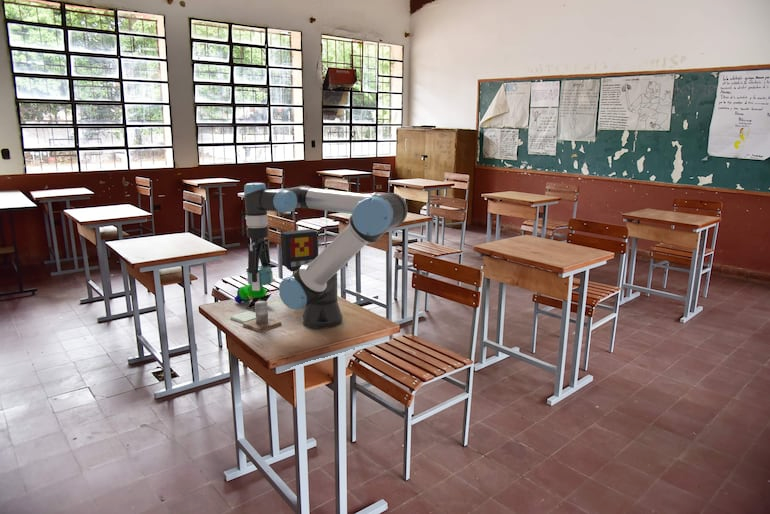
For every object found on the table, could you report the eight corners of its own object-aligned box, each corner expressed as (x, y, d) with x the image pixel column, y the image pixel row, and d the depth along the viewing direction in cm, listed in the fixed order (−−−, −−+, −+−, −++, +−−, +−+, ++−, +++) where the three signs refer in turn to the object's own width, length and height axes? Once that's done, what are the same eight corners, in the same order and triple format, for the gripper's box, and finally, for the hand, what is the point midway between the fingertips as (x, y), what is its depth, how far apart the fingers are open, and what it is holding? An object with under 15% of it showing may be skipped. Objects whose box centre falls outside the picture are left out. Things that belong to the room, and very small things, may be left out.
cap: (270, 286, 194) (269, 272, 193) (242, 285, 195) (241, 271, 194) (278, 279, 202) (277, 266, 201) (251, 279, 203) (250, 265, 202)
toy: (240, 316, 225) (253, 297, 216) (228, 295, 228) (241, 275, 219) (259, 310, 232) (273, 291, 223) (248, 290, 235) (261, 270, 226)
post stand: (281, 324, 203) (280, 302, 201) (260, 332, 196) (258, 308, 194) (264, 319, 209) (263, 297, 207) (243, 326, 202) (241, 303, 200)
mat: (263, 317, 211) (263, 315, 211) (244, 323, 204) (244, 321, 204) (249, 312, 217) (249, 310, 216) (230, 318, 210) (230, 316, 209)
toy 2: (288, 304, 228) (285, 234, 221) (283, 300, 233) (280, 232, 226) (319, 299, 234) (317, 231, 227) (313, 295, 239) (311, 229, 232)
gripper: (258, 221, 205) (261, 278, 210) (235, 231, 184) (239, 294, 189) (277, 221, 204) (280, 279, 209) (255, 231, 183) (259, 295, 188)
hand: (260, 286), depth 199 cm, fingers closed on cap, 8 cm apart
